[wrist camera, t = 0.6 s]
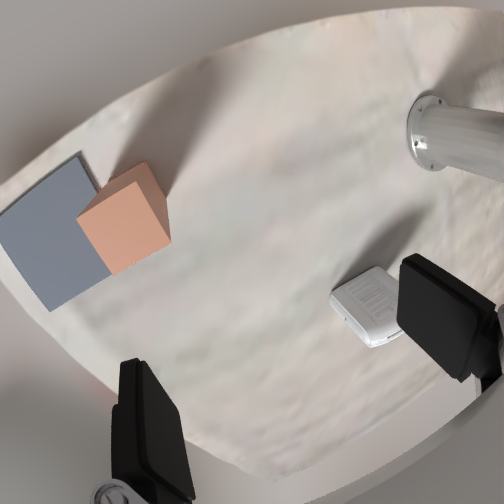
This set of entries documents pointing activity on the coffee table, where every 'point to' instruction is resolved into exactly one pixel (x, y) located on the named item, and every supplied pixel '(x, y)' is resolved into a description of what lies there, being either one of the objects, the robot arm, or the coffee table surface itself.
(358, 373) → the coffee table surface
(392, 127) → the coffee table surface
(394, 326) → the photo printer
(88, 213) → the terracotta block
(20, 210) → the mat
